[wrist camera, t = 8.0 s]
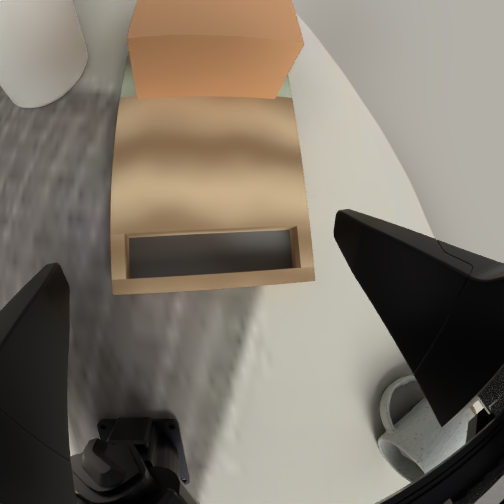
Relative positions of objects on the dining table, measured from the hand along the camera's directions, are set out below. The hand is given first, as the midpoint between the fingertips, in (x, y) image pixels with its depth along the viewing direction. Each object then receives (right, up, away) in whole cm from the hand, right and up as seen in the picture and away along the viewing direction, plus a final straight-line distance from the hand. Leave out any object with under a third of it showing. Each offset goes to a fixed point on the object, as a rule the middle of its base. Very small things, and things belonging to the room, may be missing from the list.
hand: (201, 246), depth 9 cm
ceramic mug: (+16, -17, +16) cm, 28 cm away
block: (-2, +15, +13) cm, 20 cm away
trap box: (-2, +11, +14) cm, 18 cm away
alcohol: (-18, +17, +12) cm, 28 cm away
